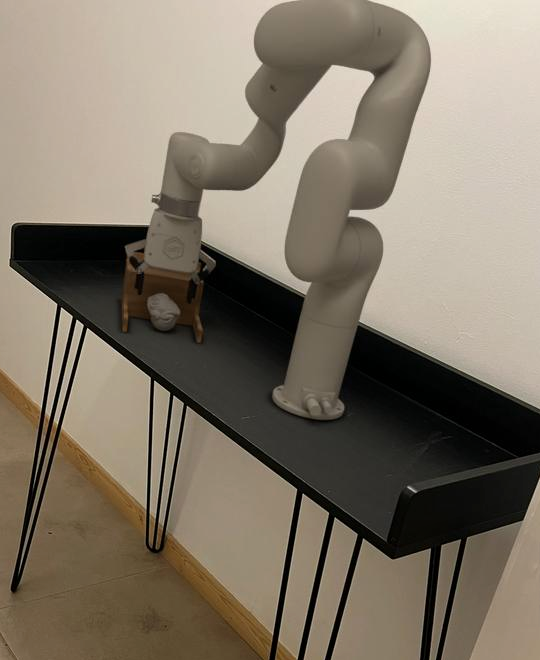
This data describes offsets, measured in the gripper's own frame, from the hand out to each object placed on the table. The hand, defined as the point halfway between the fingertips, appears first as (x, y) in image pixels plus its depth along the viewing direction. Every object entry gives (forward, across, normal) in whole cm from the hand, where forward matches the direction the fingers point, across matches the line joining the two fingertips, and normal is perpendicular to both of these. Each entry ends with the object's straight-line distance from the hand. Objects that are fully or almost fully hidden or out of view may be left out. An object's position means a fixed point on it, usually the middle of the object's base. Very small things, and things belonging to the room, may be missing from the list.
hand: (164, 297), depth 163 cm
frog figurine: (+7, 0, 0) cm, 7 cm away
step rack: (+6, 0, +5) cm, 8 cm away
